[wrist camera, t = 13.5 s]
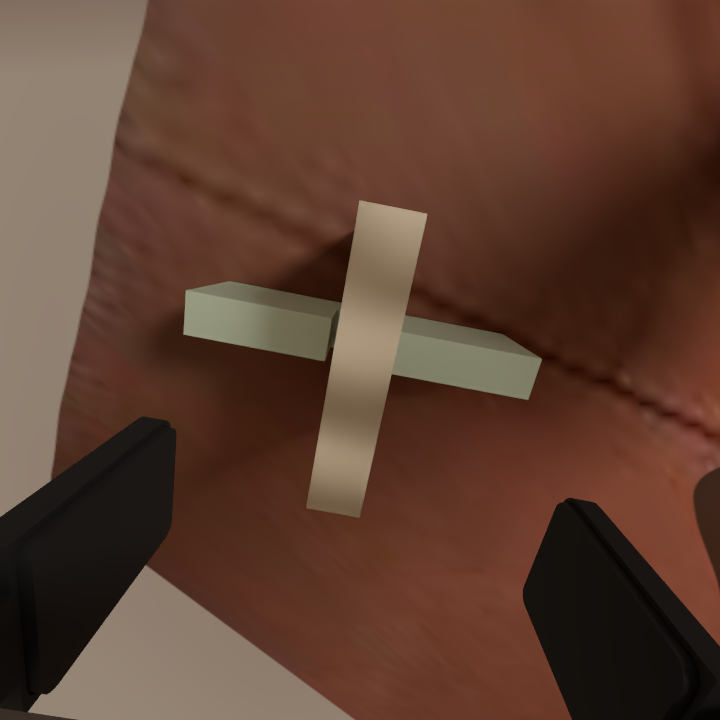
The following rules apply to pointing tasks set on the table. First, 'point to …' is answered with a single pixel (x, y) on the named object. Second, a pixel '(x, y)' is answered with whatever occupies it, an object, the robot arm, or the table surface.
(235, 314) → the slotted base
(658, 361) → the table surface
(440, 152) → the table surface
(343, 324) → the maple plate
